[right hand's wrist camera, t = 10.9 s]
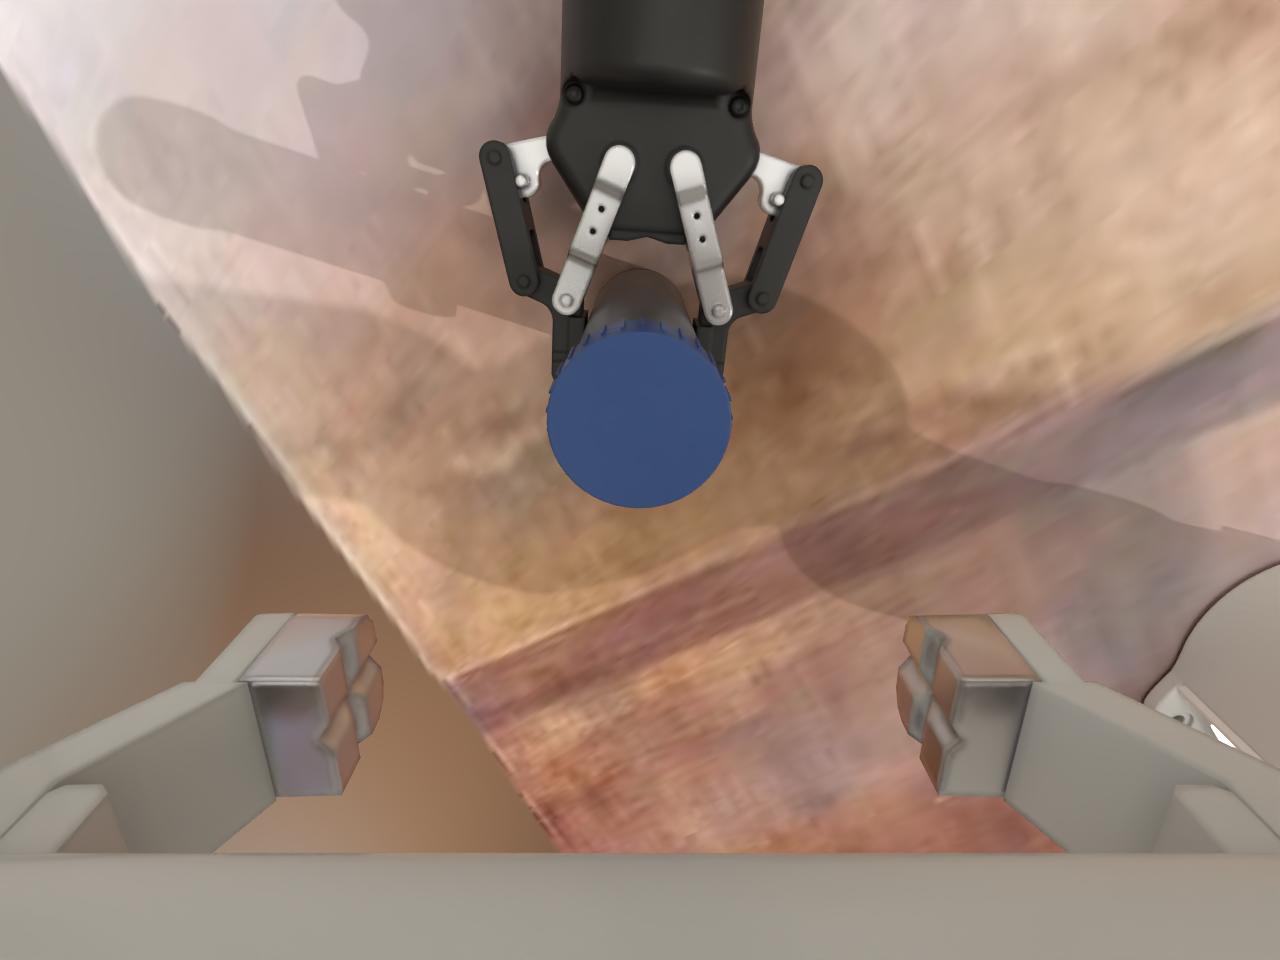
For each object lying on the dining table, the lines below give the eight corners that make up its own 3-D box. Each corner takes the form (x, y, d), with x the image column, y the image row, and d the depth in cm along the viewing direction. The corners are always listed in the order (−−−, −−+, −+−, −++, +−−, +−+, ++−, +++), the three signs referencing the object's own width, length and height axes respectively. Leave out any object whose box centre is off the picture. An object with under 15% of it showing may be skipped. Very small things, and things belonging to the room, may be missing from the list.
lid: (709, 497, 23) (714, 522, 22) (543, 473, 23) (534, 497, 21) (743, 331, 21) (752, 344, 20) (561, 304, 21) (554, 314, 19)
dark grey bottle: (676, 366, 39) (705, 505, 22) (588, 353, 39) (548, 483, 22) (692, 276, 37) (736, 351, 20) (600, 262, 37) (566, 325, 20)
